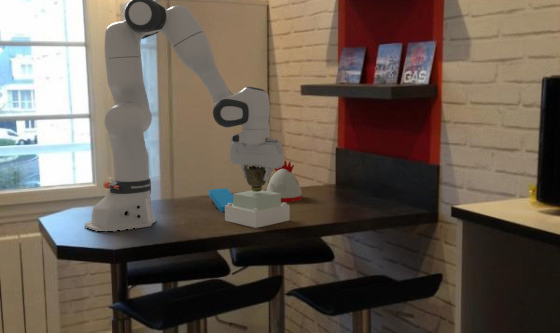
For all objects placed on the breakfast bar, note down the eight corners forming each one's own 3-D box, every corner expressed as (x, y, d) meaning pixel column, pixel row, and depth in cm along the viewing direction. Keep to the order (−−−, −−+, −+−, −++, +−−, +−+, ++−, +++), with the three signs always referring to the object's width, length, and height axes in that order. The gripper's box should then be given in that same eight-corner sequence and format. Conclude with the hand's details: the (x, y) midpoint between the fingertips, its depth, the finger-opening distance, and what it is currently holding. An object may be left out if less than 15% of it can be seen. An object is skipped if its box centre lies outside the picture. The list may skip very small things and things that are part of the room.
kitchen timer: (292, 203, 239) (292, 163, 237) (259, 200, 245) (259, 161, 242) (307, 197, 251) (307, 159, 249) (275, 194, 257) (275, 157, 255)
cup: (255, 188, 214) (255, 164, 213) (272, 190, 209) (272, 166, 208) (240, 191, 208) (240, 167, 207) (257, 193, 204) (257, 169, 202)
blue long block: (238, 222, 228) (222, 200, 243) (240, 205, 226) (223, 184, 241) (220, 224, 226) (205, 202, 241) (221, 206, 223) (206, 185, 238)
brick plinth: (255, 227, 200) (255, 199, 198) (225, 220, 210) (224, 193, 209) (289, 220, 210) (289, 193, 209) (258, 213, 221) (258, 188, 219)
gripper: (287, 138, 202) (287, 181, 204) (239, 135, 215) (239, 175, 217) (275, 140, 198) (275, 184, 199) (226, 136, 210) (227, 178, 212)
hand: (256, 179), depth 208 cm, fingers closed on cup, 6 cm apart
